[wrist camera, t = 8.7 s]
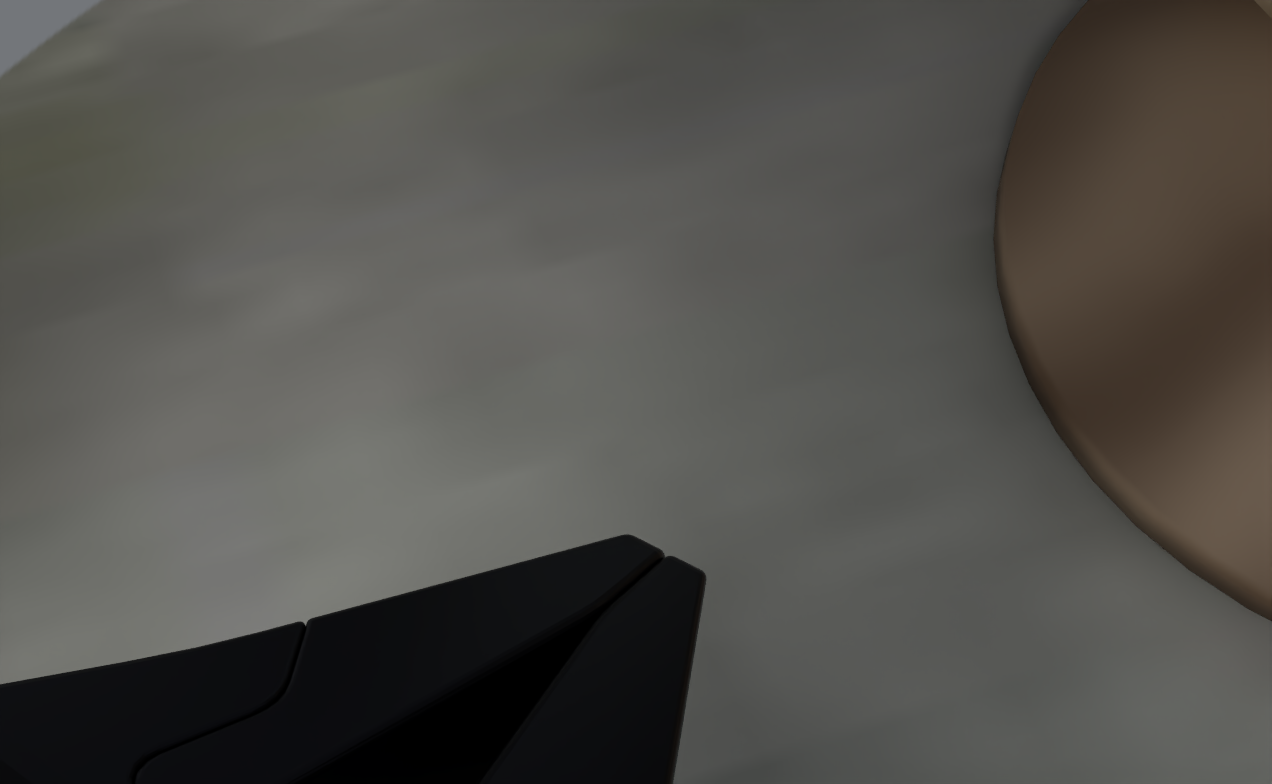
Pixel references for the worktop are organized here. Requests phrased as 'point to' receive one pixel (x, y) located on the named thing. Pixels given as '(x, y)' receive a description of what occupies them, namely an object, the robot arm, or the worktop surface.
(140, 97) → the worktop surface
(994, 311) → the worktop surface
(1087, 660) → the worktop surface
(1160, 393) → the walnut flange plate
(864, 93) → the worktop surface
